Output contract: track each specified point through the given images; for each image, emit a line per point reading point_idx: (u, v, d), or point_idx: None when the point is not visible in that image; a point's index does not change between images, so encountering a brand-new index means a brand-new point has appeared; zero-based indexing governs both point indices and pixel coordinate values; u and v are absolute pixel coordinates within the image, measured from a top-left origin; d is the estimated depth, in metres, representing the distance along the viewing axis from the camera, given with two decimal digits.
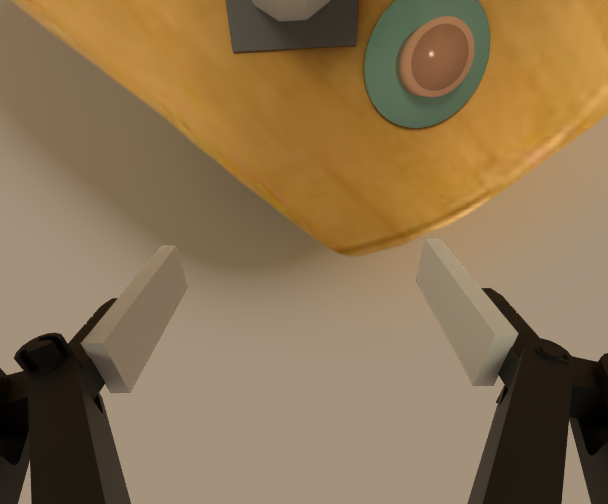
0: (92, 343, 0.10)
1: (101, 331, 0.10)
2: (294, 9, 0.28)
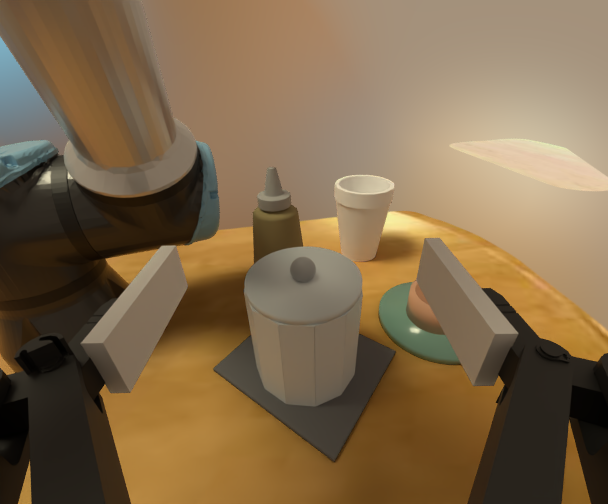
0: (92, 343, 0.10)
1: (101, 331, 0.10)
2: (351, 351, 0.29)
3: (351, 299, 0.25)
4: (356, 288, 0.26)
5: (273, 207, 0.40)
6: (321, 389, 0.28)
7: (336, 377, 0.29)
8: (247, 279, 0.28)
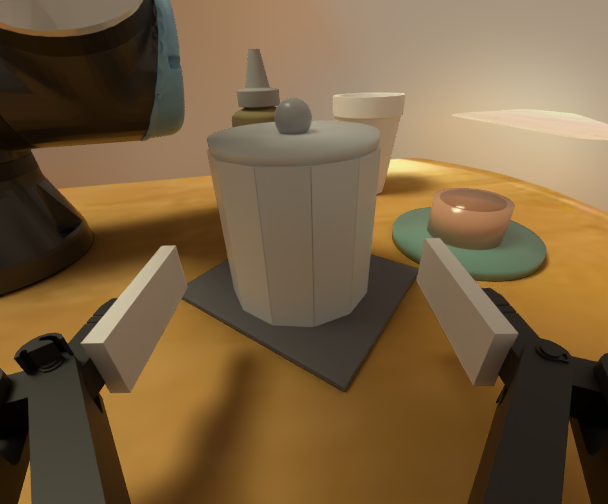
0: (92, 343, 0.10)
1: (101, 331, 0.10)
2: (365, 244, 0.20)
3: (366, 139, 0.16)
4: (372, 134, 0.18)
5: (256, 101, 0.31)
6: (322, 297, 0.20)
7: (343, 280, 0.20)
8: (212, 135, 0.19)
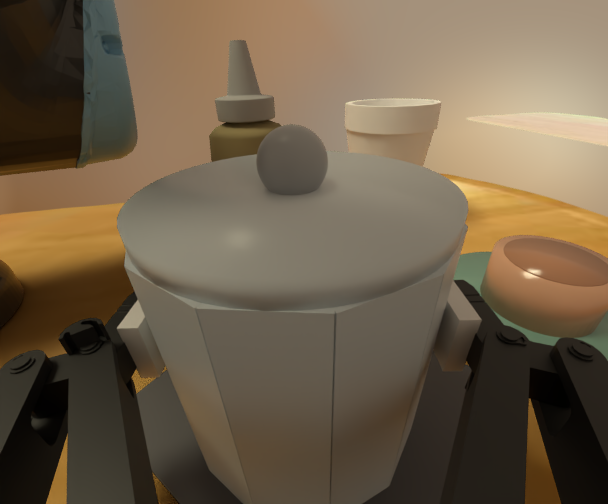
0: (127, 328, 0.10)
1: (134, 317, 0.11)
2: (420, 383, 0.11)
3: (453, 223, 0.07)
4: (453, 201, 0.09)
5: (241, 114, 0.22)
6: (346, 489, 0.11)
7: (385, 455, 0.11)
8: (140, 195, 0.10)
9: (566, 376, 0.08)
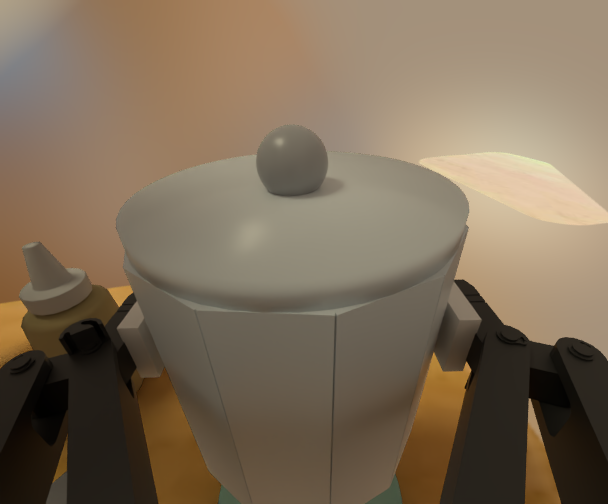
0: (127, 328, 0.10)
1: (134, 317, 0.11)
2: (421, 384, 0.11)
3: (454, 224, 0.07)
4: (454, 202, 0.09)
5: (39, 310, 0.23)
6: (346, 490, 0.11)
7: (385, 457, 0.11)
8: (139, 195, 0.10)
9: (566, 376, 0.08)
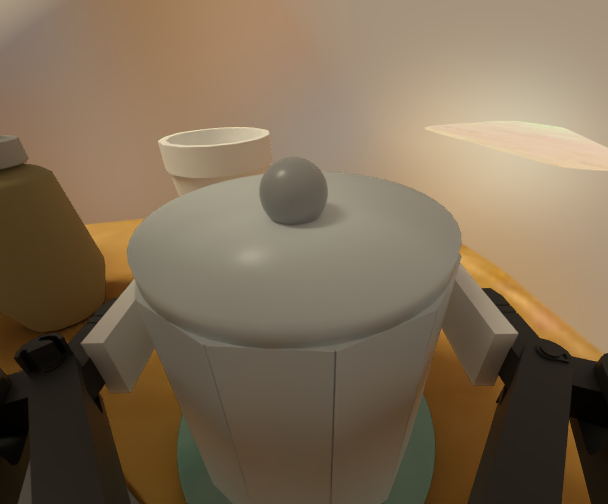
0: (92, 343, 0.10)
1: (101, 331, 0.10)
2: (417, 401, 0.12)
3: (447, 259, 0.08)
4: (447, 233, 0.09)
5: None
6: None
7: (383, 471, 0.11)
8: (147, 223, 0.11)
9: None
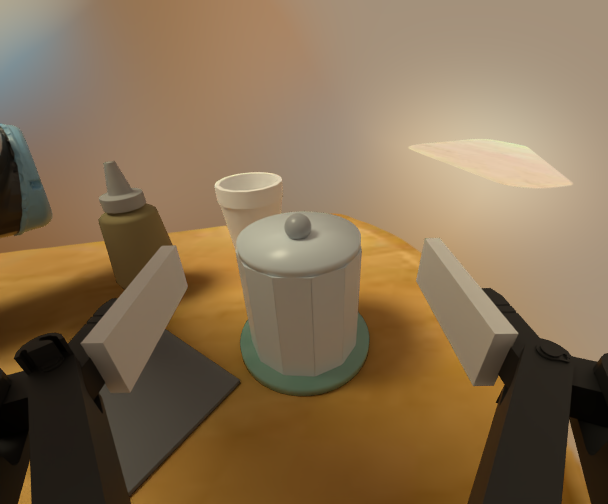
0: (92, 343, 0.10)
1: (101, 331, 0.10)
2: (352, 315, 0.27)
3: (349, 251, 0.23)
4: (354, 242, 0.25)
5: (113, 208, 0.33)
6: (320, 356, 0.27)
7: (336, 342, 0.27)
8: (239, 239, 0.26)
9: None
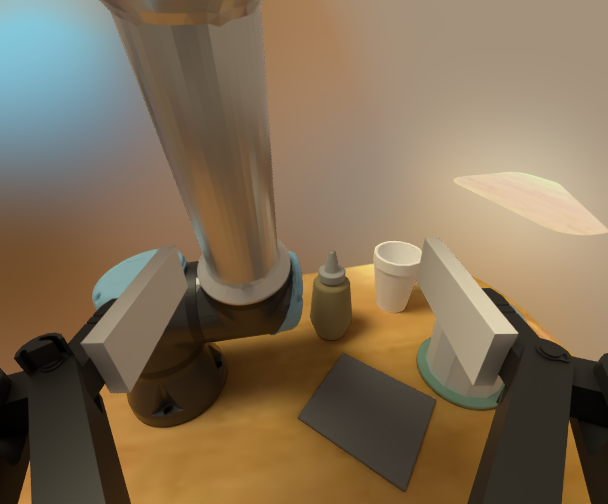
0: (92, 343, 0.10)
1: (101, 331, 0.10)
2: None
3: None
4: None
5: (333, 282, 0.50)
6: (493, 386, 0.44)
7: None
8: None
9: None
